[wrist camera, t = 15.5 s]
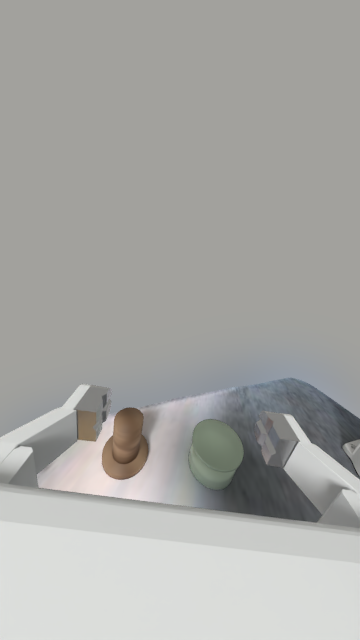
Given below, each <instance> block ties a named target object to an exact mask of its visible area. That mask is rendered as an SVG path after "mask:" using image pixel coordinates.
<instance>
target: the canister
mask: <svg viewBox="0 0 360 640" xmlns="http://www.w3.org/2000/svg"><path fill="white" fill-rule="evenodd" d="M243 454H244V451H243V446H242V443H241V440H240V438H239V437H238V435H237V434H236V433H235V431H234V430H233V429H232V428H230V427H229V426H228V425H226V424H225V423H223V422H221V421H218V420H213V419H208V420H203V421H201V422H200V423H198V424H197V425H196V427H195V429H194V432H193V436H192V445H191V449H190V452H189V465H190V469H191V471H192V473H193V475H194V477H195V478H196V479H197V480H198V481H199V482H200V483H201V484H202V485H203V486H205V487H207V488H209V489H212V490H221V489H224V488H226V487H227V486H228V485H229V484H230V482H231V480H232V478H233V476H234V473H235V471H236V469H237V468H238V467H239V466H240V464H241V462H242V459H243Z"/></svg>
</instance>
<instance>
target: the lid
mask: <svg viewBox="0 0 360 640" xmlns="http://www.w3.org/2000/svg"><path fill="white" fill-rule="evenodd" d="M142 426H143V414H142V413H141V411H139V410H138V409H136V408H125V409H123V410H121V411H119V412H118V413H117V414H116V416H115V419H114V431H113V436H112V437H111V438H110V439H109V440H108V441H107V442H106V444H105V446H104V449H103V453H102V465H103V468H104V470H105V472H106V473H107V474H108V475H109V476H110V477H112V478H114V479H118V480H123V479H128V478H131V477H133V476H134V475H136V474H137V473H138V472H139V471H140V470H141V469H142V468H143V466H144V464H145V462H146V459H147V454H148V444H147V441H146V439H145V437H144V436H143V435H142V434H141V433H142Z"/></svg>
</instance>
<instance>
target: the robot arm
mask: <svg viewBox="0 0 360 640" xmlns="http://www.w3.org/2000/svg"><path fill="white" fill-rule="evenodd" d="M111 394H112V389H111V388H106V387H100V386H94V385H87V384H81V385H80V386H79V387H78V388H77V389H76V391H75V392H74V393H73V394H72V396H71V397H70V398H69V399H68V400H67V402H66V403H65V404H64V405H63V407H62V408H56V409H55V410H53V411H51V412H49V413H47V414H45V415H43V416H41V417H39V418H37V419H35V420H33V421H31V422H29V423H27V424H25V425H24V426H22V427H20V428H18V429H16V430H14V431H12V432H10V433H8V434H6V435H4V436H2V437H0V640H360V480H359V479H358V478H357V477H355V476H354V475H353V474H352V473H350V472H349V471H348V470H347V469H345V468H344V467H343V466H342V465H340V464H339V463H338V462H336V461H335V460H334V459H333V458H331V457H330V456H329V455H328V454H326V453H325V452H324V451H323V450H321V449H320V448H319V447H317V446H316V445H315V444H311V442H310V441H309V439H308V438H307V436H306V435H305V433H304V432H303V430H302V429H301V428H300V426H299V425H298V423H297V422H296V420H295V419H294V417H293V416H292V415H290V414H283V413H275V412H268V411H262V412H261V413H260V415H259V417H260V419H261V420H259V421H258V422H256V425H255V437H256V440H257V442H258V443H259V444H260V445H261V446H262V449H261V452H262V455H263V457H264V460H265V462H266V465H270V466H276V467H282V468H284V470H285V471H286V472H287V474H288V475H289V476H290V477H291V478H292V480H293V481H294V482H295V483H296V484H297V485H298V487H299V488H300V489H301V490H302V491H303V493H304V494H305V495H306V496H307V497H308V499H309V500H310V501H311V502H312V503H313V504H314V506H315V507H316V508H317V509H318V510H319V512H320V513H321V514H322V516H321V518H320V519H319V520H318V522H317V523H314V522H306V521H298V520H290V519H282V518H274V517H266V516H259V515H251V514H243V513H235V512H227V511H219V510H211V509H203V508H195V507H187V506H179V505H171V504H163V503H155V502H147V501H139V500H131V499H123V498H115V497H107V496H99V495H92V494H84V493H76V492H68V491H60V490H52V489H44V488H39V487H38V481H37V474H38V473H39V472H41V471H42V470H43V469H44V468H45V467H47V466H48V465H49V464H50V463H51V462H53V461H54V460H55V459H56V458H57V457H59V456H60V455H61V454H62V453H63V452H65V451H66V450H67V449H68V448H69V447H71V446H72V445H73V444H74V443H75V442H77V440H86V441H96V440H97V438H98V436H99V434H100V432H101V430H102V423H103V422H105V421H106V419H107V417H108V415H109V412H110V408H111V400H110V399H109V398H110V396H111ZM342 447H343V449H344V451H345V452H346V454H347V455H348V456H349V457H350V459H351V460H352V462H353V465H354V467H355V469H356V471H357V473H358V475H359V476H360V439H359V440H355V441H352V442H349V443H345V444H344V445H343V446H342Z"/></svg>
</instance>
